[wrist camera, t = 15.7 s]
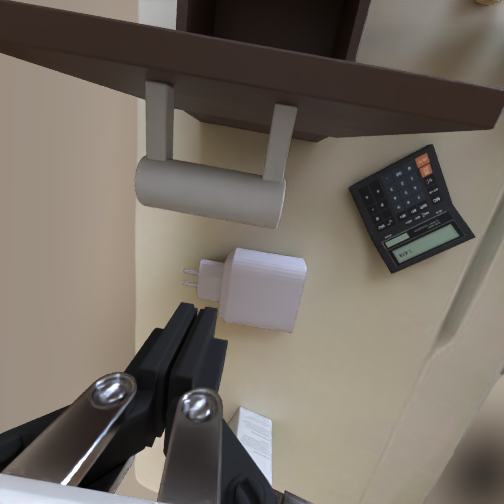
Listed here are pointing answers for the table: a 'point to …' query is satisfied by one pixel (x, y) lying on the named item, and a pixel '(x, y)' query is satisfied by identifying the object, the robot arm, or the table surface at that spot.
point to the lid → (236, 100)
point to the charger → (253, 288)
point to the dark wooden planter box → (278, 33)
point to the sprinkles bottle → (487, 2)
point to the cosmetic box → (255, 438)
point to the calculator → (410, 210)
